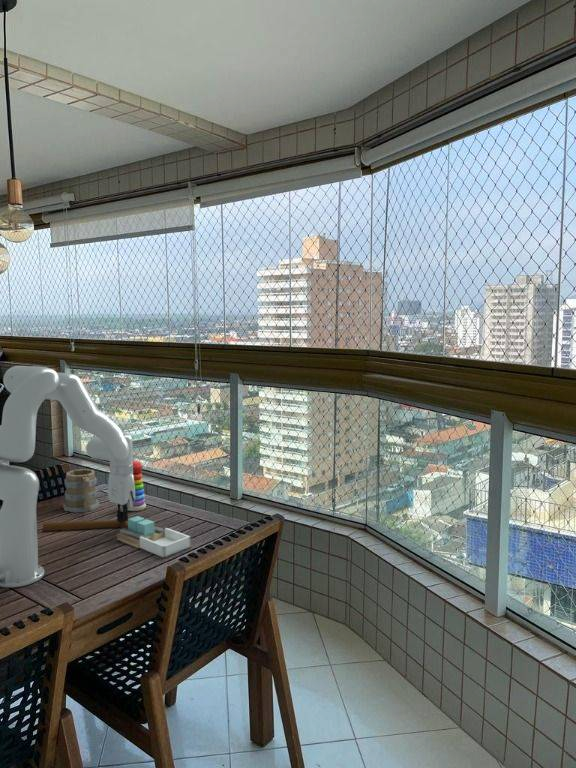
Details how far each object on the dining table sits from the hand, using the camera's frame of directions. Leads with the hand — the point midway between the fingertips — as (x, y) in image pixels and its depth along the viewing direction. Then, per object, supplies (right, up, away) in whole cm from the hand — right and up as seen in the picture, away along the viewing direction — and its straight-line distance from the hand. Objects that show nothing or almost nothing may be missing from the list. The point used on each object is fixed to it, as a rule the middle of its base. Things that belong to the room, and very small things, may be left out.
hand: (122, 521), depth 191 cm
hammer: (-12, -4, +3) cm, 13 cm away
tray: (+18, -5, -14) cm, 23 cm away
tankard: (-22, -1, +21) cm, 30 cm away
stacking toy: (-2, -1, +24) cm, 24 cm away
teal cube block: (+6, -2, -5) cm, 8 cm away
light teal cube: (+10, -2, -8) cm, 13 cm away
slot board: (+9, -4, -6) cm, 11 cm away
